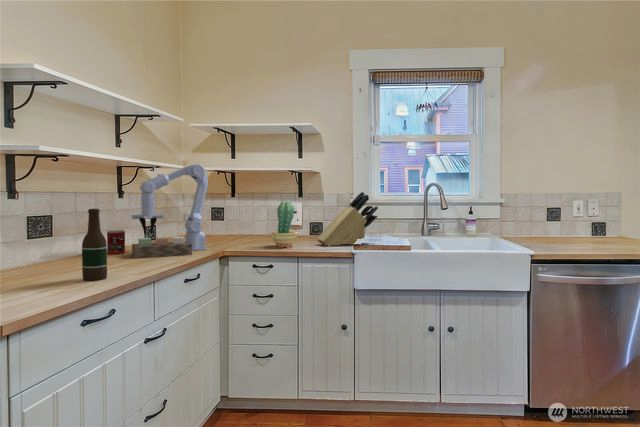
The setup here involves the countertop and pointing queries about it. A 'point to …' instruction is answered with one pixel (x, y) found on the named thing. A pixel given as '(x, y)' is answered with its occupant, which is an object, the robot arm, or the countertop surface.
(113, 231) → the canned food
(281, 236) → the potted cactus
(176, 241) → the key cream
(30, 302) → the countertop surface
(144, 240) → the key green
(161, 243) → the key terracotta
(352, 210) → the knife block
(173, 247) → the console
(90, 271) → the beer bottle
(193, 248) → the robot arm
